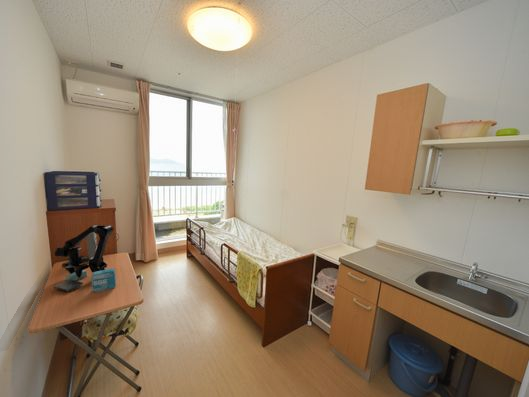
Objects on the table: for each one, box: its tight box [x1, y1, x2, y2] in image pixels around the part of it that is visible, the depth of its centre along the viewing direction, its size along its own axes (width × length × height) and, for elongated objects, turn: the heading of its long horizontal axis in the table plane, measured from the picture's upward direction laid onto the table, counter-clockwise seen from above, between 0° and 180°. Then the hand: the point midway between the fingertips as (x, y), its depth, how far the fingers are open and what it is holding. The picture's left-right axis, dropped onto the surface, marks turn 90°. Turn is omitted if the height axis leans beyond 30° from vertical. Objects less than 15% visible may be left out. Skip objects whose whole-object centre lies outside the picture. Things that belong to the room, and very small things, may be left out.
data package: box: [90, 268, 117, 293], centre depth 141 cm, size 12×4×12 cm, turn 121°
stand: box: [53, 280, 84, 293], centre depth 142 cm, size 13×9×2 cm
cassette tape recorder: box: [85, 232, 98, 259], centre depth 189 cm, size 14×6×25 cm, turn 32°
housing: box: [65, 269, 88, 281], centre depth 154 cm, size 5×10×4 cm, turn 152°
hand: (76, 277), depth 154 cm, fingers closed on housing, 5 cm apart
